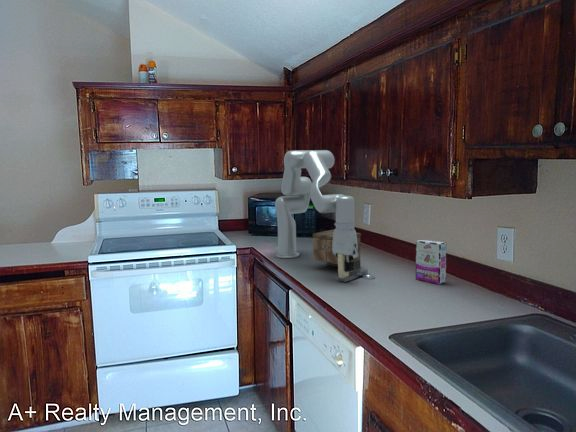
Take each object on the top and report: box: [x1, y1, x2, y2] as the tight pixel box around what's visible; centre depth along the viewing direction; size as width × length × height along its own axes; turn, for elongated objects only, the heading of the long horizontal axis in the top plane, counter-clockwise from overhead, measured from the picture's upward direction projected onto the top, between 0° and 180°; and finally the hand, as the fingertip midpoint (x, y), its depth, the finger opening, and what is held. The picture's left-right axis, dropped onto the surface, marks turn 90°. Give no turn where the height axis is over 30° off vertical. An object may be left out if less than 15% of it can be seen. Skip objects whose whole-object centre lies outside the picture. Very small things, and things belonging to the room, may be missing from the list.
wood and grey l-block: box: [337, 253, 369, 283], centre depth 180 cm, size 4×16×12 cm, turn 134°
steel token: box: [362, 272, 376, 280], centre depth 181 cm, size 5×5×2 cm
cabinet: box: [312, 229, 362, 271], centre depth 197 cm, size 17×16×16 cm
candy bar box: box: [415, 239, 447, 285], centre depth 173 cm, size 11×5×16 cm, turn 40°
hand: (345, 270), depth 177 cm, fingers closed on wood and grey l-block, 2 cm apart
